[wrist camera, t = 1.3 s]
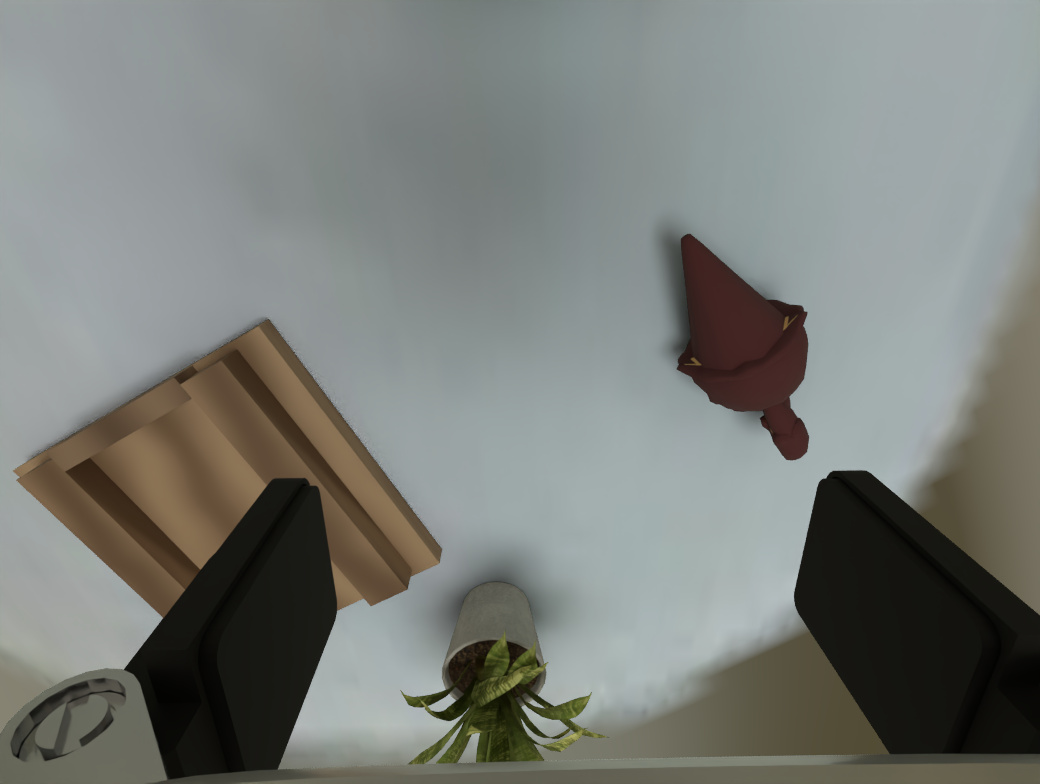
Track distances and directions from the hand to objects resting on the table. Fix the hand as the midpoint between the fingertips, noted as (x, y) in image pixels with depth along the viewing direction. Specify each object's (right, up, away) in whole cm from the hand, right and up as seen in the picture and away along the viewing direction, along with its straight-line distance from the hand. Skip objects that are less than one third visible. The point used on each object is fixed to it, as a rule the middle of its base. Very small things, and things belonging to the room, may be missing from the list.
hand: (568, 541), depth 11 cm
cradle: (-20, -5, +29) cm, 36 cm away
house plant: (-2, -15, +34) cm, 37 cm away
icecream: (+12, +7, +25) cm, 28 cm away
